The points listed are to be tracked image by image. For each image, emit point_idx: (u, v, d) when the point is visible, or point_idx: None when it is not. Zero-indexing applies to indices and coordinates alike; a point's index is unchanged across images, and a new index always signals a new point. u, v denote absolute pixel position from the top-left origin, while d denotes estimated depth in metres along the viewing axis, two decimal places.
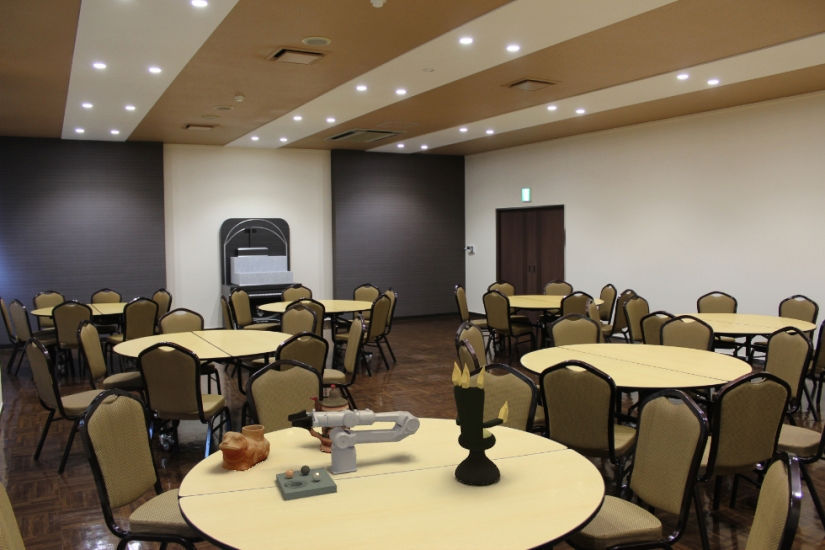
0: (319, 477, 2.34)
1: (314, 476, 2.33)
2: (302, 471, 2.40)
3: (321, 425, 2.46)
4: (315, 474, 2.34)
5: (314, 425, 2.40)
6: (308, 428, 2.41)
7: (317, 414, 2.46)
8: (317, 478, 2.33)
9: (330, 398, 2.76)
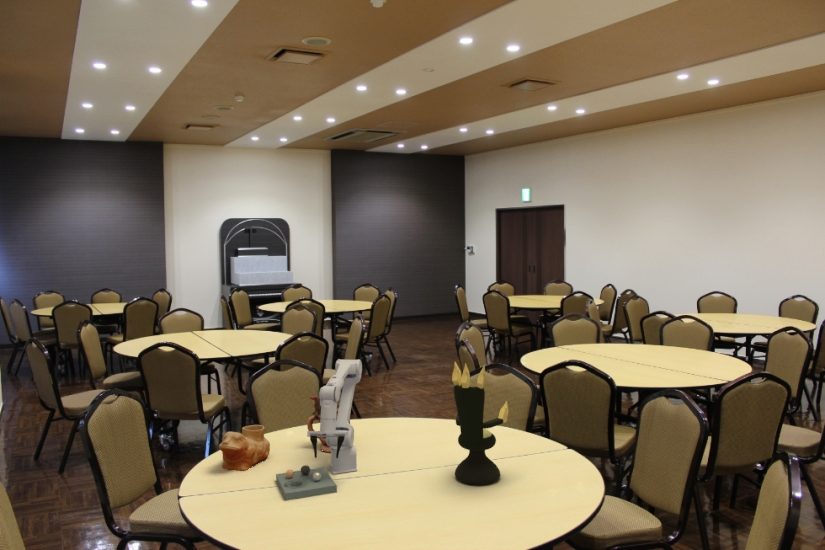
0: (319, 477, 2.34)
1: (314, 476, 2.33)
2: (302, 471, 2.40)
3: None
4: (315, 474, 2.34)
5: (347, 436, 2.38)
6: None
7: (332, 429, 2.35)
8: (317, 478, 2.33)
9: None
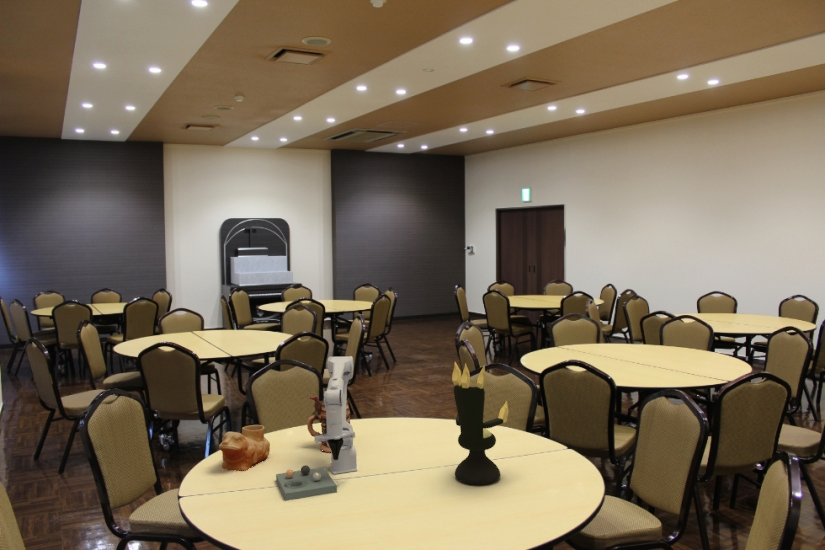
0: (319, 477, 2.34)
1: (314, 476, 2.33)
2: (302, 471, 2.40)
3: None
4: (315, 474, 2.34)
5: None
6: None
7: (340, 433, 2.35)
8: (317, 478, 2.33)
9: None
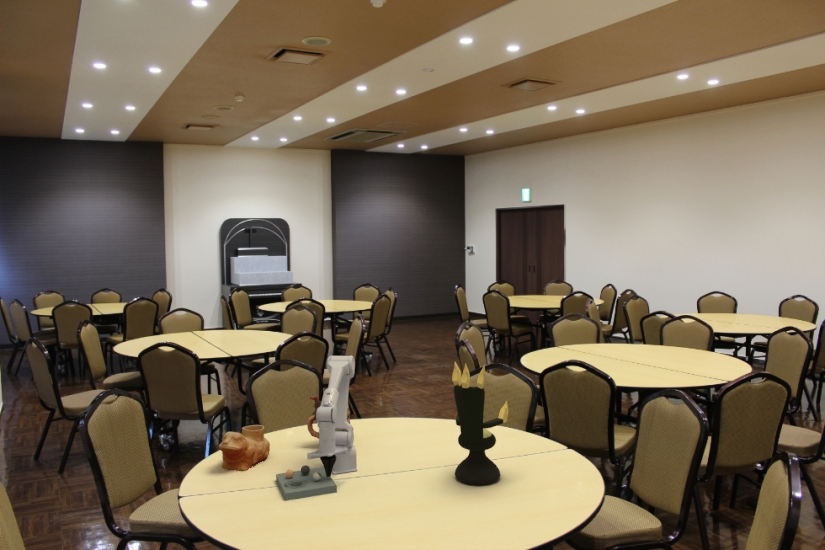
0: (319, 477, 2.34)
1: (314, 476, 2.33)
2: (302, 471, 2.40)
3: None
4: (315, 474, 2.34)
5: None
6: None
7: (333, 450, 2.34)
8: (317, 478, 2.33)
9: None
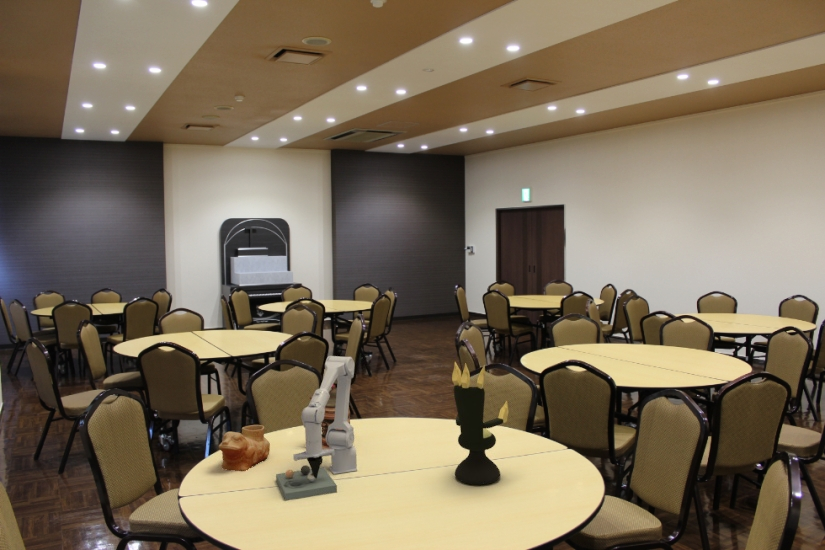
0: (312, 477, 2.33)
1: (309, 481, 2.33)
2: (302, 471, 2.40)
3: None
4: (308, 479, 2.33)
5: None
6: None
7: (319, 451, 2.32)
8: (312, 479, 2.32)
9: (330, 398, 2.76)
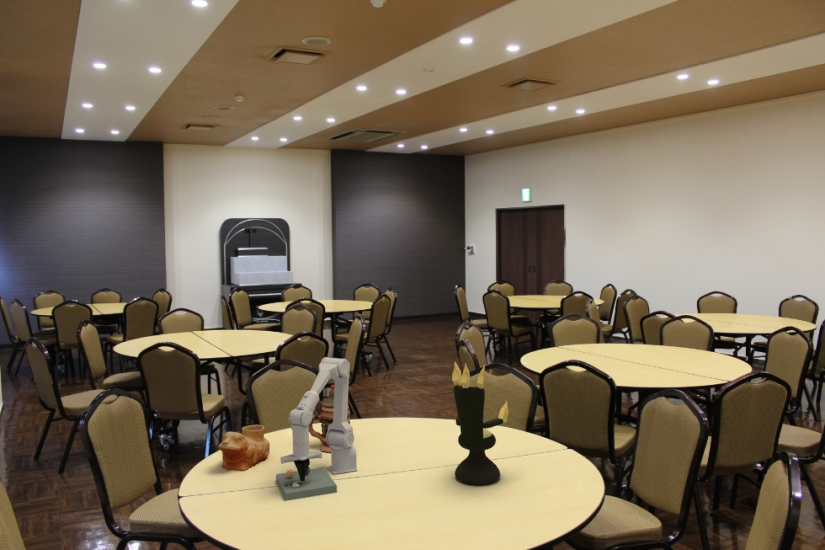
0: None
1: (296, 486, 2.31)
2: None
3: None
4: (297, 484, 2.31)
5: None
6: None
7: (306, 453, 2.30)
8: None
9: (330, 398, 2.76)
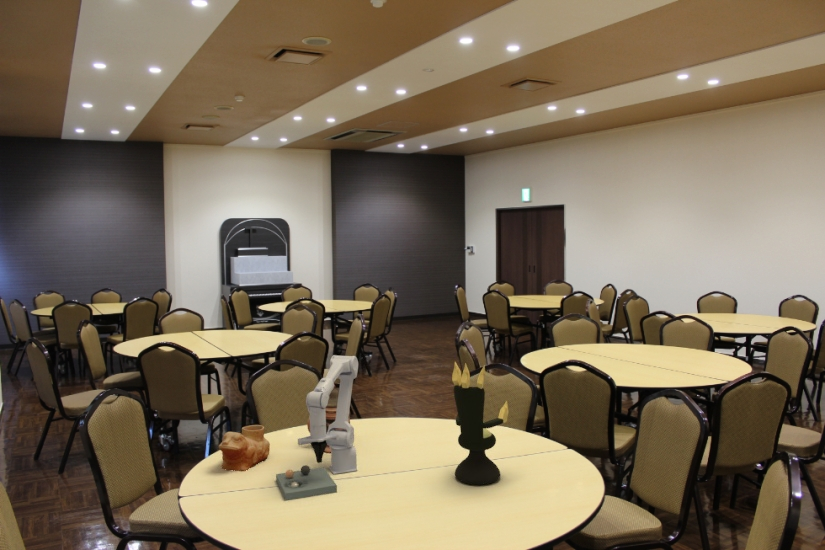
0: None
1: (294, 485, 2.31)
2: (302, 471, 2.40)
3: None
4: (295, 483, 2.31)
5: None
6: None
7: (323, 435, 2.32)
8: None
9: (330, 398, 2.76)
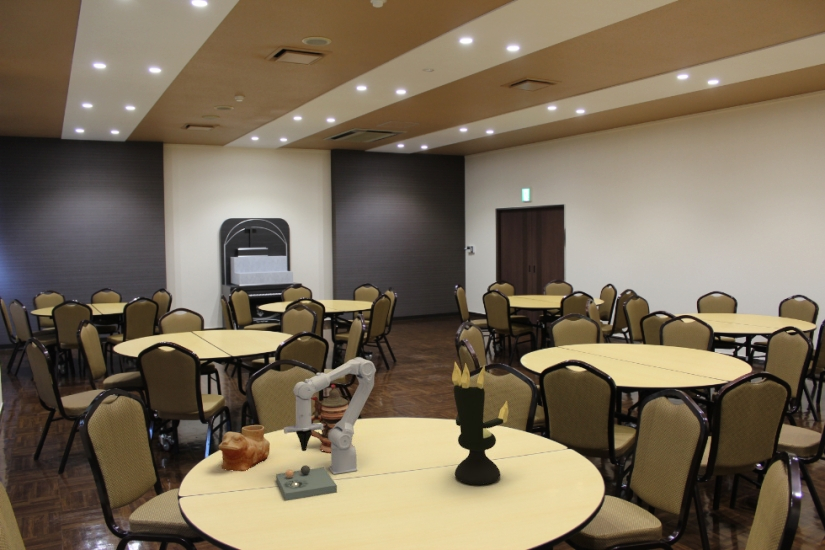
0: None
1: (295, 484, 2.31)
2: (302, 471, 2.40)
3: None
4: (296, 483, 2.32)
5: None
6: None
7: (309, 424, 2.42)
8: None
9: (330, 398, 2.76)
